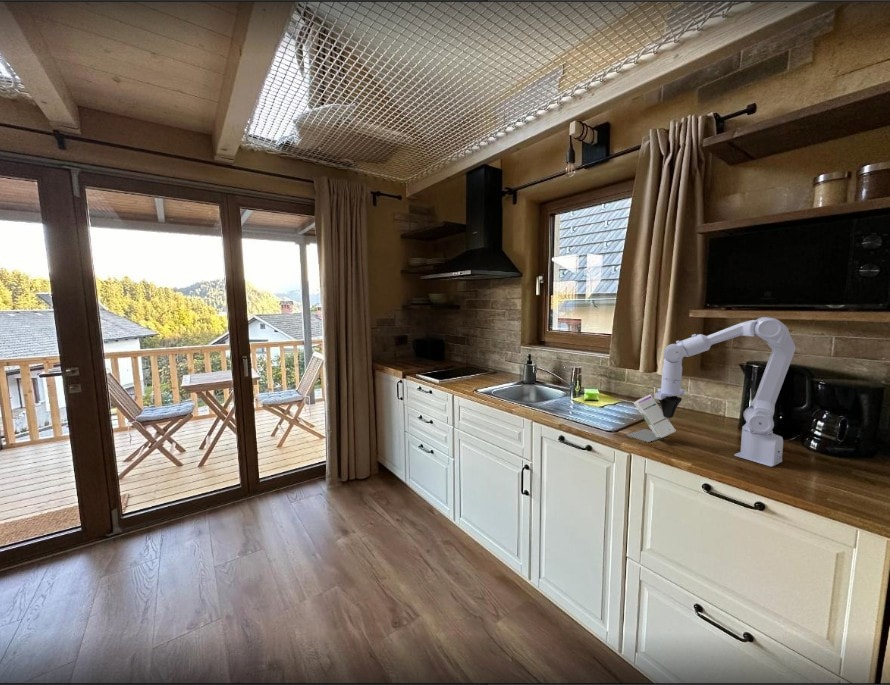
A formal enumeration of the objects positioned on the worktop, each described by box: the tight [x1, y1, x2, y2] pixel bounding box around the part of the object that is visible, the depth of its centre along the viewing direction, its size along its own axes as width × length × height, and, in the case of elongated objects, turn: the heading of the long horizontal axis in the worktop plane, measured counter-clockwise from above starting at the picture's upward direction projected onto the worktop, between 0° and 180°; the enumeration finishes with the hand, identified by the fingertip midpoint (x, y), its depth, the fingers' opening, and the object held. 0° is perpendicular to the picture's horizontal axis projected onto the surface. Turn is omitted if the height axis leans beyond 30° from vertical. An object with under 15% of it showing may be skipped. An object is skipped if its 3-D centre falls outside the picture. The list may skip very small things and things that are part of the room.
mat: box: [625, 428, 668, 443], centre depth 133 cm, size 8×12×1 cm
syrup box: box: [633, 394, 677, 439], centre depth 129 cm, size 6×6×14 cm
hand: (668, 417), depth 126 cm, fingers closed
